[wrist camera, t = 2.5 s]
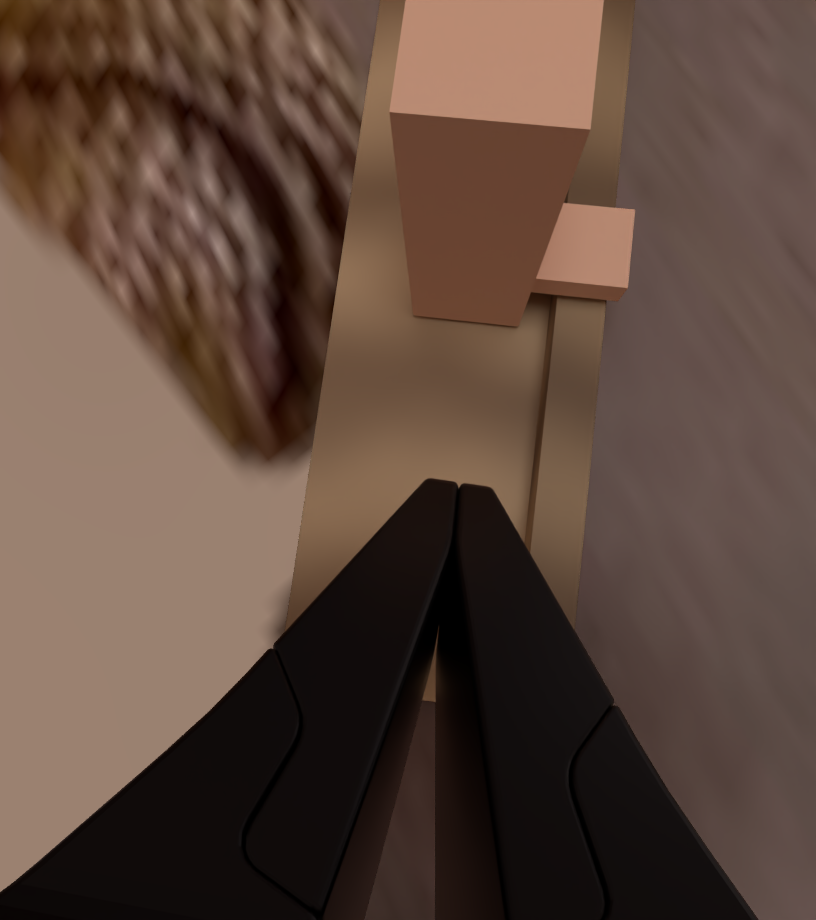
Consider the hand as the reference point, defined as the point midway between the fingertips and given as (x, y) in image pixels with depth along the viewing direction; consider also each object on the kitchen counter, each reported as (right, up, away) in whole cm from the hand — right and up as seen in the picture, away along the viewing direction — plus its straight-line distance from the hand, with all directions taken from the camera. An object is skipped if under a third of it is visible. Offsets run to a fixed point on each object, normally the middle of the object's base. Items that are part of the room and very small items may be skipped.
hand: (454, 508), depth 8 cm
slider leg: (+3, +7, +13) cm, 15 cm away
